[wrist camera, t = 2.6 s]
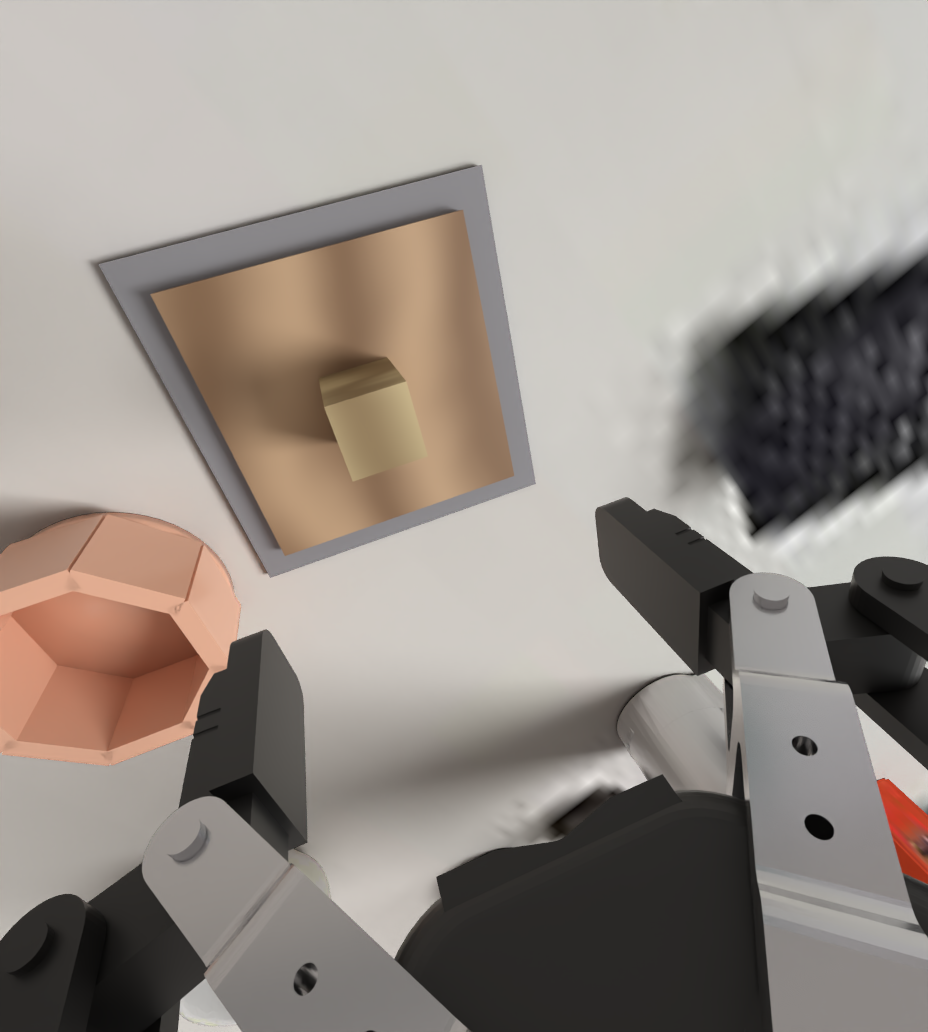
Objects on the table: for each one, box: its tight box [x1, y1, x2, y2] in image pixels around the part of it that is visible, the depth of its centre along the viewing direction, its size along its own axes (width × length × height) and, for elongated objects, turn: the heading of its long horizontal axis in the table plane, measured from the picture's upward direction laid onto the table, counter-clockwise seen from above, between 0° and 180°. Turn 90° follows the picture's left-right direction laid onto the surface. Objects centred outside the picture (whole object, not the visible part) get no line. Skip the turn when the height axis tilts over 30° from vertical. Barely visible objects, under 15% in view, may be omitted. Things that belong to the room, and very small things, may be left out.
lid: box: [150, 210, 514, 556], centre depth 24 cm, size 14×14×6 cm
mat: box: [98, 165, 536, 578], centre depth 27 cm, size 17×17×1 cm
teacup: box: [179, 849, 331, 1027], centre depth 40 cm, size 14×11×8 cm
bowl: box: [0, 512, 241, 766], centre depth 26 cm, size 11×11×6 cm
